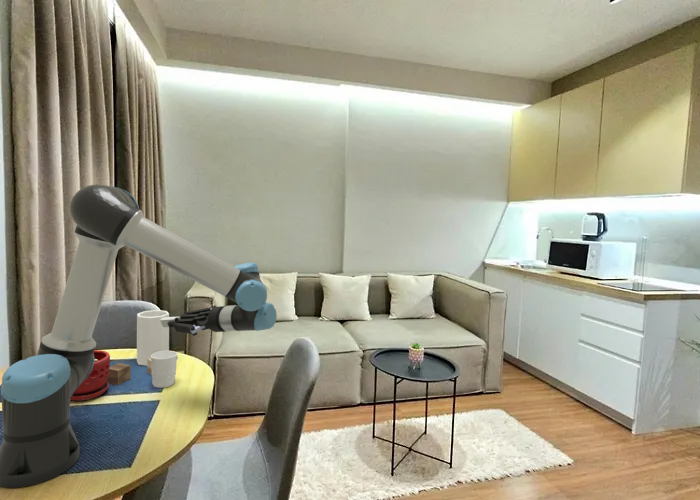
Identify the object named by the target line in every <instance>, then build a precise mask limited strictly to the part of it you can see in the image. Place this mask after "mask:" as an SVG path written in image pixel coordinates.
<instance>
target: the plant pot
mask: <svg viewBox="0 0 700 500" xmlns="http://www.w3.org/2000/svg"><path fill="white" fill-rule="evenodd" d="M110 355H111V354H110V353H109V352H108V351H105V350H97V349H95V350H94V364H93V368H92V370H91V372H90V374H89V375H88V377H87V378H86V379H85V380H84V381H83V382H82V383H81V385H80V386H79V387H78V388H77V390H76V391H75V392H74V393H73V395H72V396H71V397H70V401H74V402H75V401H77V402H78V401H88V400H91V399H94V398H97V397H99V396H101V395H103V394H104V393H105V392H106V391H107V390H108V389H109V386H110V383H108V382H106V381H107V378H108V375H109V368H110V367H111V356H110ZM95 360H97V361H95Z"/></svg>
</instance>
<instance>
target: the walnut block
mask: <svg viewBox="0 0 700 500" xmlns="http://www.w3.org/2000/svg"><path fill="white" fill-rule="evenodd" d="M131 368H132V367H131V365H130V364H125V363H119V362H118V363H116V364H113V365H110V368H109V375H108V378H107V381H106V382H108V383H109V385H111V384H112V385H115V386H119V385H121V384H123V383H126V382H128V381H130V380H131V370H132V369H131Z"/></svg>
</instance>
